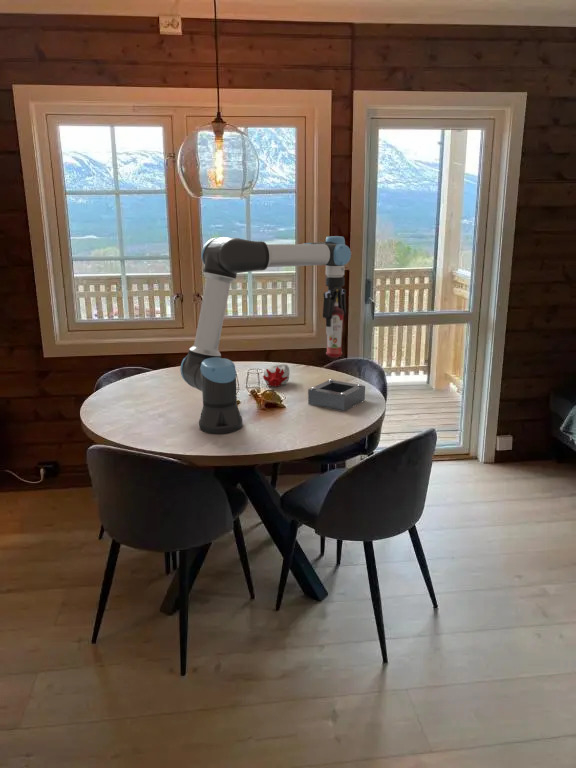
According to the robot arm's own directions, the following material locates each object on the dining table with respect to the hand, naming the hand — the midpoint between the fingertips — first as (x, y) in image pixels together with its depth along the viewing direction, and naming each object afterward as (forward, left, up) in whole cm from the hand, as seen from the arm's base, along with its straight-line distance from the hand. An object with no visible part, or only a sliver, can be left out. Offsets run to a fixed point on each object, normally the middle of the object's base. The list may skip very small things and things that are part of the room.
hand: (334, 332), depth 240 cm
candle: (-11, +22, -24) cm, 34 cm away
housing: (-16, -11, -24) cm, 31 cm away
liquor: (0, 0, -10) cm, 10 cm away
